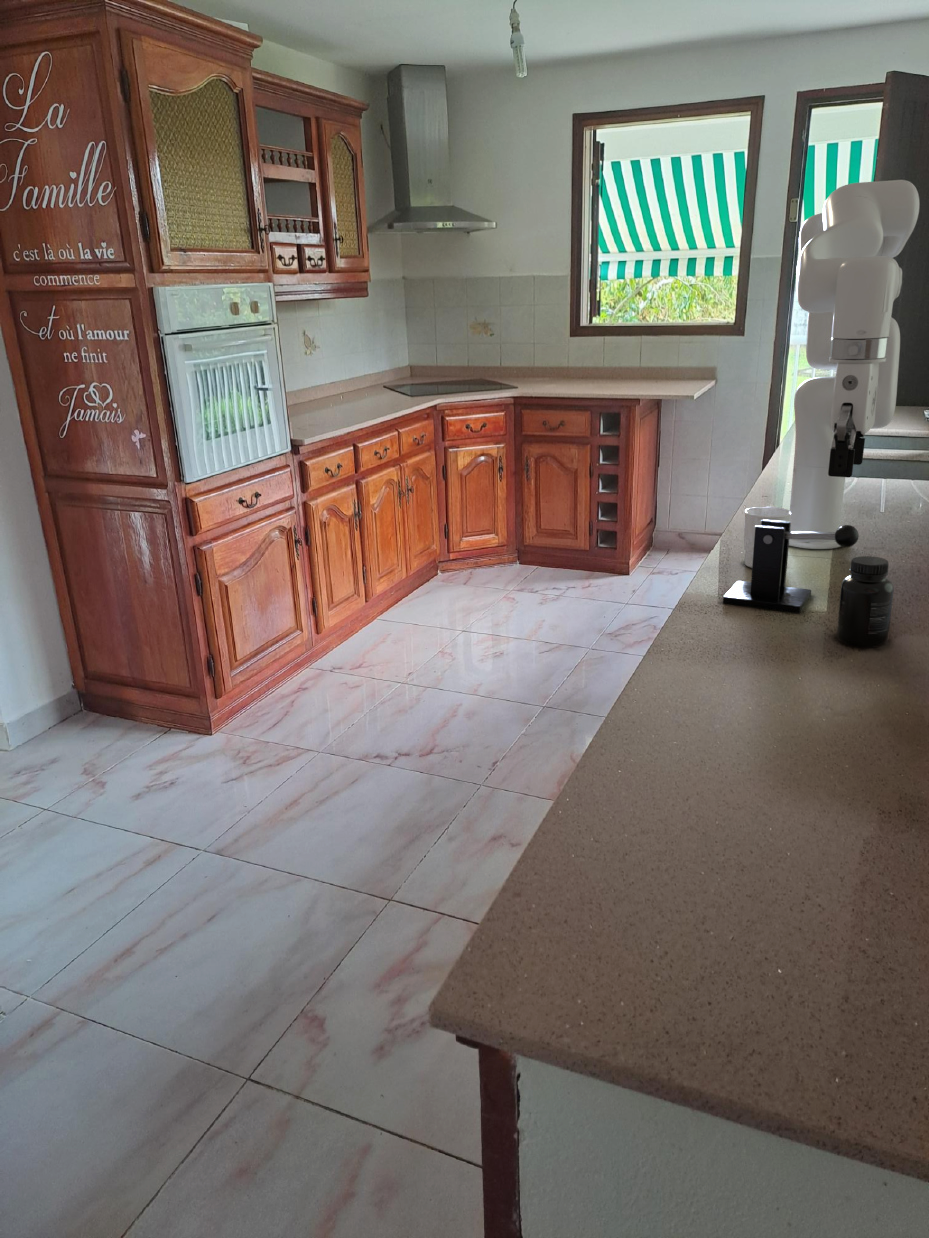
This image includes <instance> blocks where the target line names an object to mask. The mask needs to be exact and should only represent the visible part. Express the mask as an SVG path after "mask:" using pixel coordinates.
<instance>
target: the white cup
mask: <svg viewBox="0 0 929 1238" xmlns="http://www.w3.org/2000/svg"><path fill="white" fill-rule="evenodd" d="M790 516H791V512H790V509H787V508H784V507H778V506H753V507H749V508H746V509H745V510H744V529H743V531H744V532H743V534H744V535H743V542H744V543H743V544H744V547H743V549H744V565H745V566H747V567H748V568H751V569H752V565H753V551H754V538H755V527H756V526H757V525H760V526H761V521H762V520H763V519H765V520H777V521H788V522H790Z"/></svg>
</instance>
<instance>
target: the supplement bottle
mask: <svg viewBox="0 0 929 1238" xmlns="http://www.w3.org/2000/svg"><path fill="white" fill-rule="evenodd" d="M889 564H890V563H889V561H888V560H887V559H886V558H883V557H880V556H870V555H862V556H855V557H853V558H851V560H850V568H849V575H848V576H846V577H844V579H843V580H842V582H841V586H840V593H839V594H840V595H839V606H838V615H837V626H836V627H837V628H836V637H837V639H838V641H840V642H841V643H843V644H845V645H847V646H851V647H855V648H861V649H862V648H863V649H869V648H870V649H872V648H873V649H874V648H878V647H882V646H884V645H886V644H887V643H888V641H889V635H890V628H891V627H890V626H891V619H892V611H893V610H892V608H893V601H894V600H893V599H894V590H895V586H894V583H893V582H892V581H891V580H890V579H889V578H888V577H887V576H888V575H889Z"/></svg>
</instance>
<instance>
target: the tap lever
mask: <svg viewBox="0 0 929 1238" xmlns="http://www.w3.org/2000/svg"><path fill="white" fill-rule="evenodd" d="M771 527H782V528H783V526H771ZM859 535H860V534H859V531H858V529H857V528H856V527H855V526H853V525H850V524H843V525H842V526H841V525H840V527H839V528H838V529H837V530H836V532H791V531H785V538H784V539H812V540H835V541H836V543H837V544H838V545H840V546H841V547H843V548H850V547H852V546H853V547H854V545H856V543H857V542H858V540H859V537H860V536H859Z"/></svg>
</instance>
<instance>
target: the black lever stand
mask: <svg viewBox="0 0 929 1238" xmlns="http://www.w3.org/2000/svg"><path fill="white" fill-rule="evenodd" d="M771 526H783V528H782V527H771ZM790 526H791V522H788V521H777V520H765V519H763V520H762V521H761V526H760V525H757V526H756V527H755V538H754V551H753V565H752V568H751V580H750V581H745V580H743V581H742V580H737V581H736V582H735V583H734V584H733V585H732V586H731V588H729V590H728V591H727V592H726V593H725V594H724V595H723V596H722V604H725V605H726V604H727V605H732V606H741V607H747V608H755V609H761V610H769V611H778V612H785V613H791V614H792V613H793V614H798V615H799V614H801V612H802V611H803V609H804V607H805V606H806V604H807V603H808V601H809V600H810V598H811V597H812V589H810V588H809V589H808V588H802V587H793V586H792V587H791V586H786V581H787V572H788V571H787V570H788V559H789V549H790V548H789V547H790V545H789V539H784V538H785V531H790Z"/></svg>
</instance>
